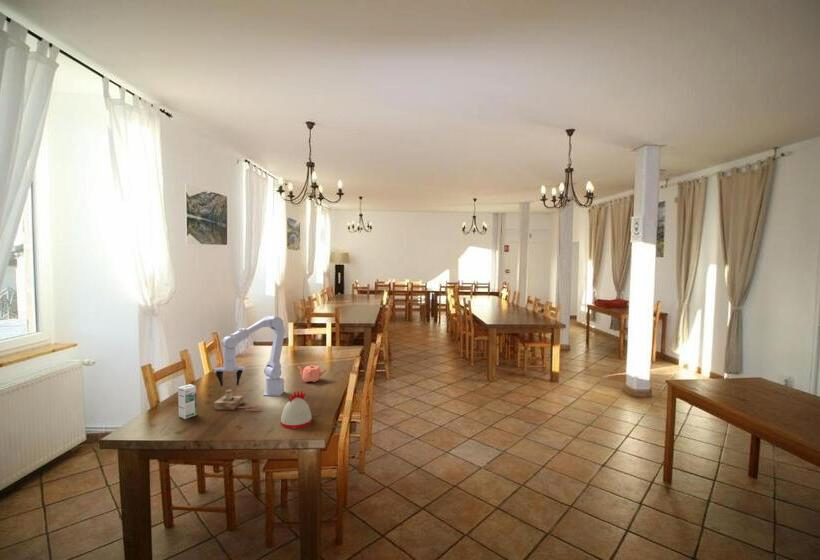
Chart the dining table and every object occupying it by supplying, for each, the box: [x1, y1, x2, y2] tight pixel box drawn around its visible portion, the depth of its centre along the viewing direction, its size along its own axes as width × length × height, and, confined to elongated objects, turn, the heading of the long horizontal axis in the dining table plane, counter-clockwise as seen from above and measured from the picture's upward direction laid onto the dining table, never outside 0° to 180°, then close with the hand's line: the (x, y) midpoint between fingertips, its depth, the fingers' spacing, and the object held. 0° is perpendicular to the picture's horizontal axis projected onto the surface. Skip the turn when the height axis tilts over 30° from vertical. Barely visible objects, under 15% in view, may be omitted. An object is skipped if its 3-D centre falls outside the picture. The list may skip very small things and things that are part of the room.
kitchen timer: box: [280, 389, 313, 430], centre depth 181 cm, size 14×14×15 cm
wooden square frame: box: [213, 395, 244, 411], centre depth 200 cm, size 10×10×4 cm
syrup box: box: [177, 383, 198, 420], centre depth 186 cm, size 6×6×14 cm
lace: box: [235, 406, 263, 412], centre depth 196 cm, size 15×4×1 cm, turn 88°
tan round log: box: [225, 389, 233, 401], centre depth 200 cm, size 3×3×8 cm
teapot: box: [297, 364, 327, 383], centre depth 243 cm, size 14×12×10 cm
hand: (229, 385), depth 203 cm, fingers open, 7 cm apart
